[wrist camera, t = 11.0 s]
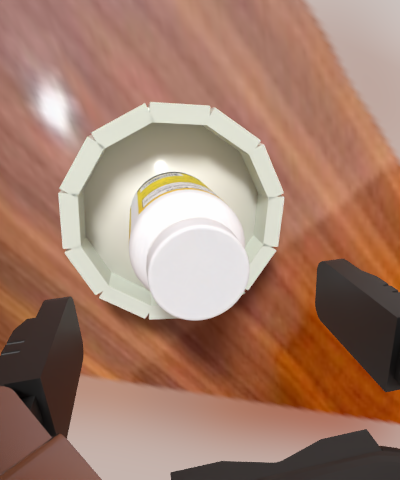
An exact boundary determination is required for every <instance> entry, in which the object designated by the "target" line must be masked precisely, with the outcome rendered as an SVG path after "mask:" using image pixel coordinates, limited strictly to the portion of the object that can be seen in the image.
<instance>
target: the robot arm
mask: <svg viewBox="0 0 400 480" xmlns="http://www.w3.org/2000/svg"><path fill="white" fill-rule="evenodd" d="M315 306H316V311H317V314H318V317H319V319H320V320H321V322H322V323H323V324H324V325H325V326H326V327H327V328H328V329H329V330H330V332H331V333H332V334H333V335H334V336H335V337H336V338H337V339H338V340H339V341H340V343H341V344H342V345H343V346H344V347H345V348H346V349H347V350H348V351H349V352H350V354H351V355H352V356H353V357H354V358H355V359H356V360H357V361H358V362H359V363H360V365H361V366H362V367H363V368H364V369H365V370H366V371H367V372H368V373H369V374H370V376H371V377H372V378H373V379H374V380H375V381H376V382H377V383H378V384H379V385H380V387H381V388H382V389H383V390H384V391H385V392H389V391H394V390H399V389H400V292H398V290H396V289H395V288H393V287H392V286H388V284H387V283H386V282H384V281H383V280H381V279H380V278H378V277H377V276H374V275H372V274H369V273H366V272H364V271H361V270H360V269H358V268H357V267H355V266H354V265H352V264H351V263H350V262H348V261H347V260H345V259H336V260H329V261H322V262H320V263H319V265H318V268H317V283H316V300H315ZM82 362H83V342H82V337H81V332H80V328H79V323H78V319H77V314H76V310H75V305H74V302H73V299H72V297H64V298H57V299H50V300H45V301H44V302H43V304H42V306H41V308H40V310H39V312H38V314H37V316H36V318H32V319H27V320H25V321H24V322H23V323H22V324H21V325H20V326H18V327H17V328H16V329H15V330H14V331H13V333H12V334H11V336H10V338H9V340H8V342H7V345H5V347H4V349H3V351H2V352H1V356H0V480H102V479H101V478H100V477H99V476H98V475H97V474H96V472H95V471H94V470H93V469H92V468H91V467H90V466H89V464H88V463H87V462H86V461H85V460H84V459H83V457H82V456H81V455H80V454H79V453H78V452H77V450H76V449H75V448H74V447H73V446H72V445H71V443H70V442H69V441H68V440H67V435H68V430H69V425H70V420H71V415H72V410H73V405H74V401H75V396H76V390H77V386H78V381H79V377H80V372H81V367H82ZM171 480H400V449H398V448H392V447H385V446H378V444H377V443H376V441H375V440H374V439H373V437H372V436H371V435H370V433H369V432H368V431H367V430H366V429H365V430H361V431H356V432H352V433H347V434H343V435H338V436H334V437H330V438H325V439H321V440H319V441H317V442H315V443H314V444H312V445H310V446H308V447H306V448H305V449H303V450H301V451H299V452H297V453H296V454H294V455H292V456H290V457H288V458H286V459H284V460H283V461H280V462H277V463H262V462H230V461H221V462H216V463H212V464H207V465H203V466H198V467H194V468H189V469H184V470H180V471H175V472H171Z"/></svg>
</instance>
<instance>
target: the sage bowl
mask: <svg viewBox="0 0 400 480" xmlns="http://www.w3.org/2000/svg"><path fill="white" fill-rule="evenodd" d="M260 141H261V140H259V139H258V138H257V137H255V136H254V135H252V134H251V133H250V132H248V131H247V130H246V129H244V128H243V127H241V126H240V125H239V124H237V123H236V122H234V121H233V120H232V119H230V118H229V117H227V116H226V115H225V114H223V113H222V112H221V111H219V110H218V109H216V108H210V106H206V105H190V104H174V103H158V102H150V103H149V104H148V108H147V106H146V104H145V103H144V104H142V105H141V106H139V107H137V108H135V109H133V110H132V111H130V112H128V113H126V114H124V115H122V116H121V117H119V118H117V119H115V120H113V121H112V122H110V123H108V124H106V125H104V126H102V127H101V128H99V129H97V130H95V131H93V132H92V135H90V136H87V138H86V140H85V142H84V144H83V146H82V147H81V149H80V151H79V153H78V155H77V157H76V159H75V160H74V162H73V164H72V166H71V168H70V170H69V172H68V173H67V175H66V177H65V179H64V181H63V183H62V185H61V186H60V188H59V189H61V191H60V192H59V193H58V195H59V208H60V220H61V232H62V245H63V249H66V251H65V254H66V256H67V257H68V259H69V260H70V261H71V263H72V264H73V265H74V267H75V268H76V269H77V271H78V272H79V273H80V275H81V276H82V278H83V279H84V280H85V282H86V283H87V284H88V286H89V287H90V288H91V290H92V291H93V292H94V294H95V295H97V294H99V293H100V296H99V298H100V299H102V300H104V301H107V302H109V303H111V304H113V305H115V306H118V307H120V308H122V309H124V310H127V311H129V312H131V313H133V314H135V315H138V316H140V317H142V318H144V319H145V318H146V317H147V315H148V313H149V320H152V319H174V318H177V317H175V316H172V315H171V314H169V313H167V312H166V311H164V310H163V309H162V308H161V307H160V306H159V305H158V304H157V303H156V301H155V300H154V298H153V296H152V294H151V292H150V291H149V290H148V289H147V288H146V287H145V286H144V285H143V284H142V283H141V282H140V280H139V279H138V278H137V276H136V274H135V272H134V270H133V268H132V265H131V261H130V256H129V219H130V208H131V203H132V200H133V197H134V195H135V193H136V192H137V190H138V189H139V188H140V186H141V185H142V184H143V183H144V182H145V181H147V180H148V179H150V178H151V177H153V176H155V175H158V174H160V173H164V172H182V173H186V174H188V175H191V176H193V177H195V178H197V179H198V180H200V181H201V182H202V183H204V184H205V185H206V186H207V187H208V188H209V189H210V190H212V191H213V192H214V193H215V194H216V195H217V196H219V197H220V198H221V199H222V200H223V201H224V202H225V203H226V204H228V206H229V207H230V208H231V209H232V210H233V211H234V213H235V214H236V216H237V217H238V219H239V221H240V223H241V225H242V228H243V231H244V236H245V251H246V253H247V256H248V259H249V267H250V273H249V279H248V283H247V286H246V288H245V289H247V290H249V289H250V287H251V286H252V284H253V283H254V282H255V280H256V279H257V277H258V276H259V274H260V273H261V272H262V270H263V269H264V267H265V266H266V265H267V263H268V262H269V260H270V259H271V258H272V256H273V255H274V253H275V252H276V250H275V249H274V248H273V247H278V243H279V235H280V228H281V220H282V212H283V205H284V197H283V196H281V194H283V193H284V192H283V189H282V187H281V185H280V182H279V180H278V177H277V175H276V173H275V170H274V168H273V165H272V163H271V161H270V158H269V156H268V153H267V151H266V149H265V146H264V144H260ZM244 293H245V292H243V294H244ZM243 294H242V295H243Z"/></svg>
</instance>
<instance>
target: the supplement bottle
mask: <svg viewBox="0 0 400 480" xmlns="http://www.w3.org/2000/svg"><path fill="white" fill-rule="evenodd" d="M129 256H130V261H131V265H132V268H133V270H134V272H135V274H136V276H137V278H138V279H139V280H140V282H141V283H142V284H143V285H144V286H145V287H146V288H147V289H148V290H149V291H150V292H151V294H152V296H153V298H154V300H155V301H156V303H157V304H158V305H159V306H160V307H161V308H162V309H163V310H164V311H166V312H167V313H169V314H171V315H172V316H175V317H177V318H180V319H184V320H192V321H197V320H205V319H210V318H213V317H215V316H218V315H220V314H222V313H224V312H225V311H227V310H228V309H229V308H231V307H232V306H233V305H234V304H235V303H236V302H237V301H238V300H239V298H240V297H241V296H242V294H243V292H244V290H245V288H246V286H247V283H248V279H249V273H250V267H249V259H248V256H247V253H246V251H245V236H244V231H243V228H242V225H241V223H240V221H239V219H238V217H237V216H236V214H235V213H234V211H233V210H232V209H231V208H230V207H229V206H228V204H226V203H225V202H224V201H223V200H222V199H221V198H220V197H219V196H217V195H216V194H215V193H214V192H213V191H212V190H210V189H209V188H208V187H207V186H206V185H205V184H204V183H202V182H201V181H200V180H198V179H197V178H195V177H193V176H191V175H188V174H186V173H182V172H164V173H160V174H158V175H155V176H153V177H151V178H150V179H148V180H147V181H145V182H144V183H143V184H142V185H141V186H140V188H139V189H138V190H137V192H136V193H135V195H134V197H133V200H132V203H131V208H130V219H129Z"/></svg>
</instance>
